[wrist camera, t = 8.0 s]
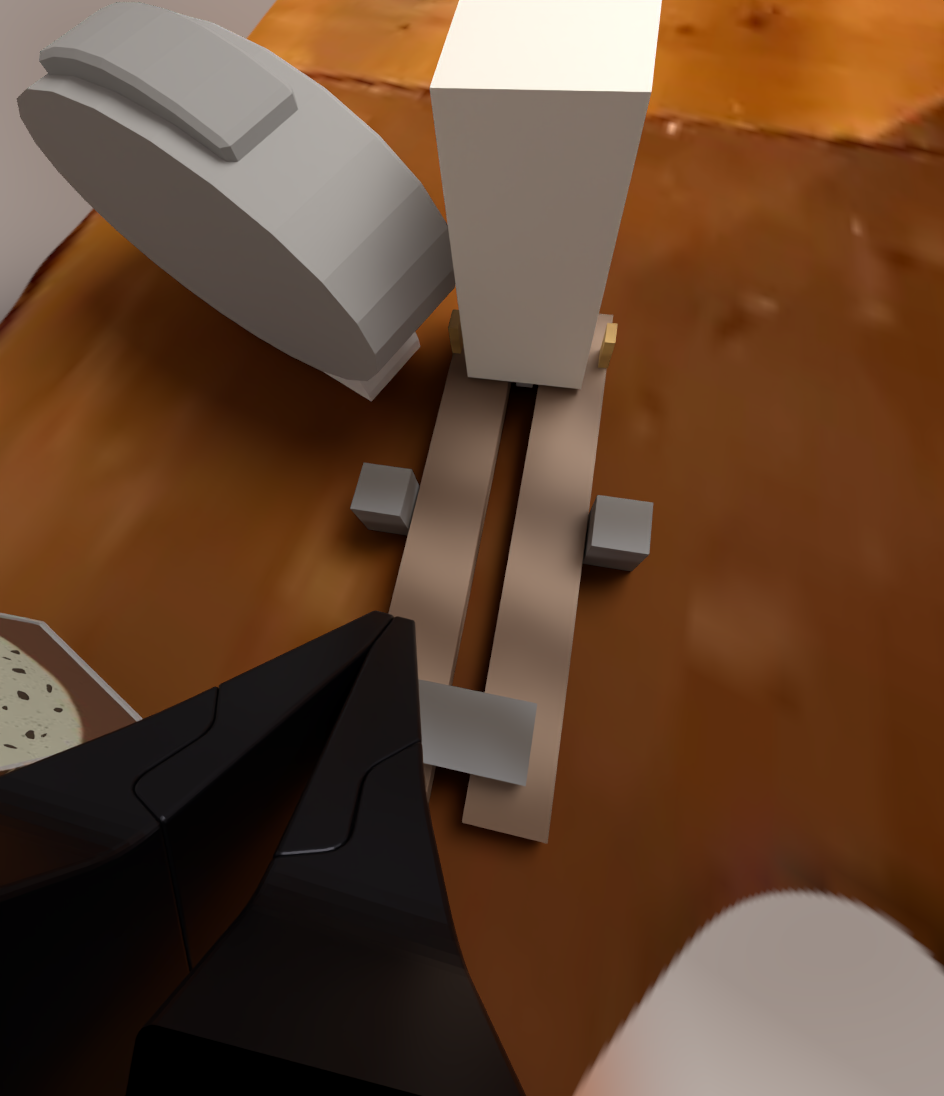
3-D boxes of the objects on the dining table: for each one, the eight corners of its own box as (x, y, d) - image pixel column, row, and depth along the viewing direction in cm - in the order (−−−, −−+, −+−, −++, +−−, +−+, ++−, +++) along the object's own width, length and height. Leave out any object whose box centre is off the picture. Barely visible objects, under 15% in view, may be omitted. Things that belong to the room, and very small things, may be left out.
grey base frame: (606, 849, 18) (625, 878, 15) (300, 774, 20) (265, 788, 17) (652, 335, 25) (670, 290, 23) (427, 315, 27) (418, 271, 24)
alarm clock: (473, 360, 26) (441, 72, 14) (408, 437, 25) (311, 194, 13) (211, 218, 32) (27, -75, 19) (148, 275, 30) (-92, -2, 18)
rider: (578, 400, 24) (651, 92, 12) (469, 388, 25) (429, 87, 12) (590, 313, 26) (665, -37, 13) (488, 304, 26) (470, -33, 14)
